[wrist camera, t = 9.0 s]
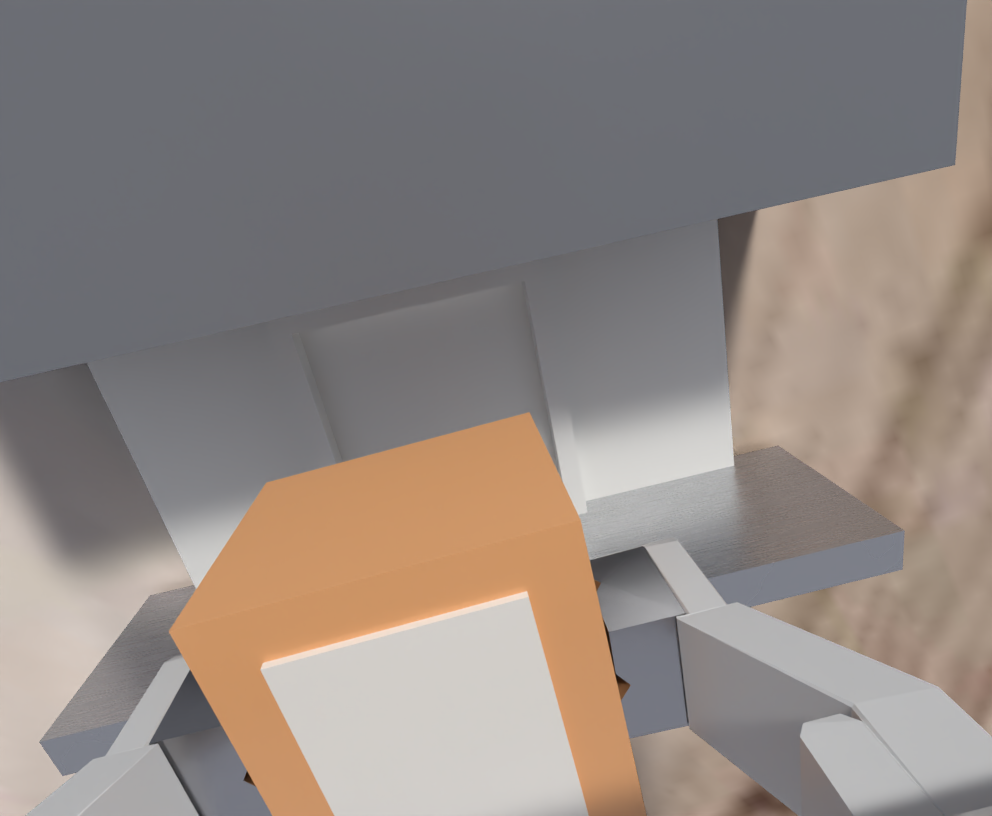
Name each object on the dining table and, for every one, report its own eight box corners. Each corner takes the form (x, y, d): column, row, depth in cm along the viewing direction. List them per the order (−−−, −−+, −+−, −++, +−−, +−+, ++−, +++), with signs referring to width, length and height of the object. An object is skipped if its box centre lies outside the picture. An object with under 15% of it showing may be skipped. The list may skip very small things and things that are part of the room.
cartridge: (266, 482, 9) (163, 637, 6) (529, 412, 9) (582, 524, 6) (363, 704, 11) (328, 926, 7) (585, 643, 11) (652, 836, 7)
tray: (-92, 121, 14) (-427, 62, 8) (755, -61, 14) (945, -226, 9) (167, 619, 19) (62, 776, 14) (775, 473, 20) (902, 569, 14)
